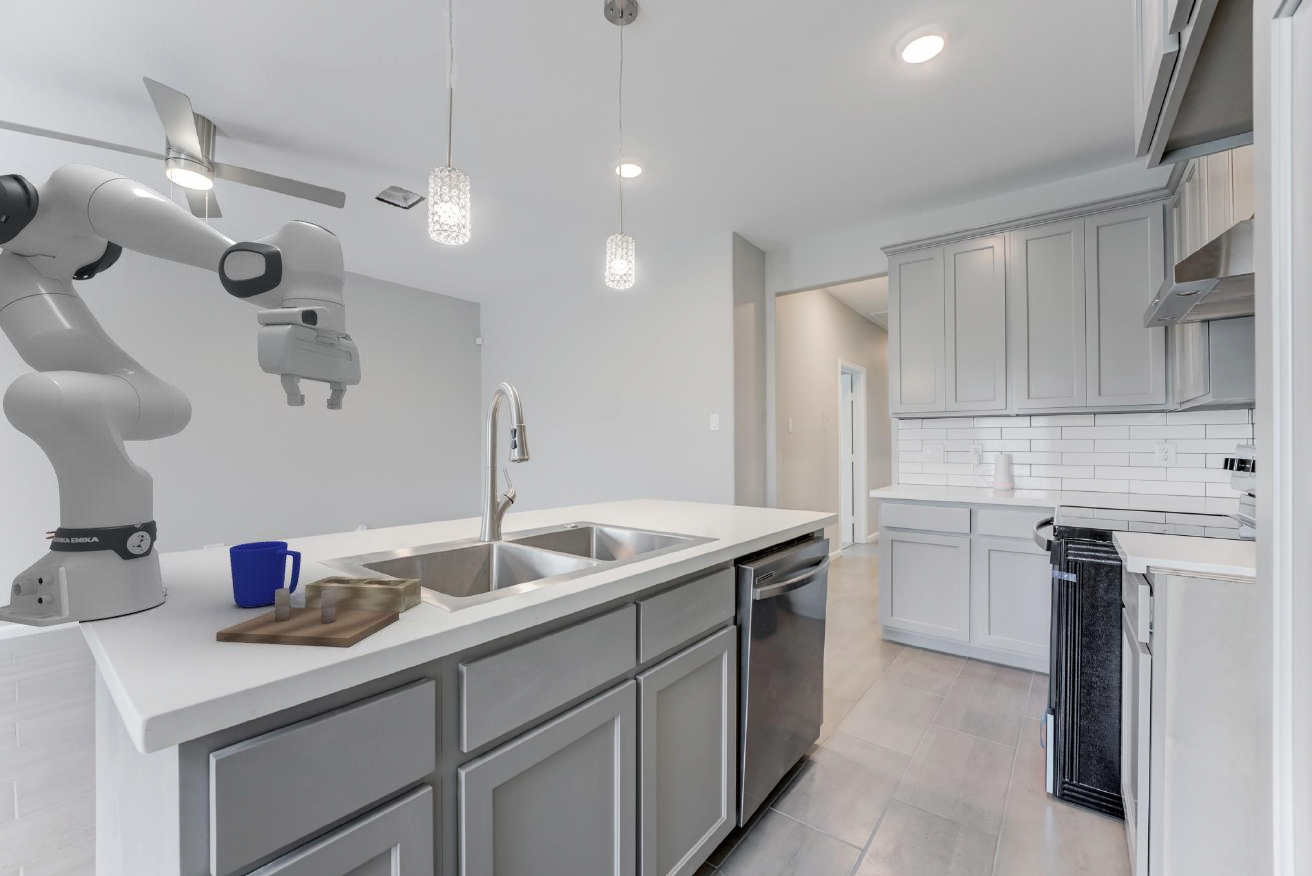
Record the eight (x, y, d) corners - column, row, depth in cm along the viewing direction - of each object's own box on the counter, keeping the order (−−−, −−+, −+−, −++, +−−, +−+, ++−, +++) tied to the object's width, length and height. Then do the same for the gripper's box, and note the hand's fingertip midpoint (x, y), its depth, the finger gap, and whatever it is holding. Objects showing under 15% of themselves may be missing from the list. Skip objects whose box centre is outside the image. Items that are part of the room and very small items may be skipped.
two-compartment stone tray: (305, 609, 93) (305, 585, 93) (330, 598, 99) (330, 576, 99) (401, 612, 91) (401, 588, 91) (420, 602, 97) (420, 579, 97)
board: (216, 640, 79) (216, 600, 79) (283, 614, 90) (283, 579, 90) (348, 647, 76) (348, 605, 76) (399, 619, 88) (399, 582, 88)
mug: (277, 613, 91) (277, 551, 91) (216, 608, 93) (216, 549, 93) (317, 599, 99) (317, 542, 99) (260, 595, 101) (260, 540, 101)
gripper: (336, 336, 102) (337, 411, 102) (247, 309, 82) (249, 404, 82) (369, 334, 102) (371, 410, 102) (289, 307, 81) (291, 403, 81)
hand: (316, 407), depth 91 cm, fingers open, 8 cm apart
